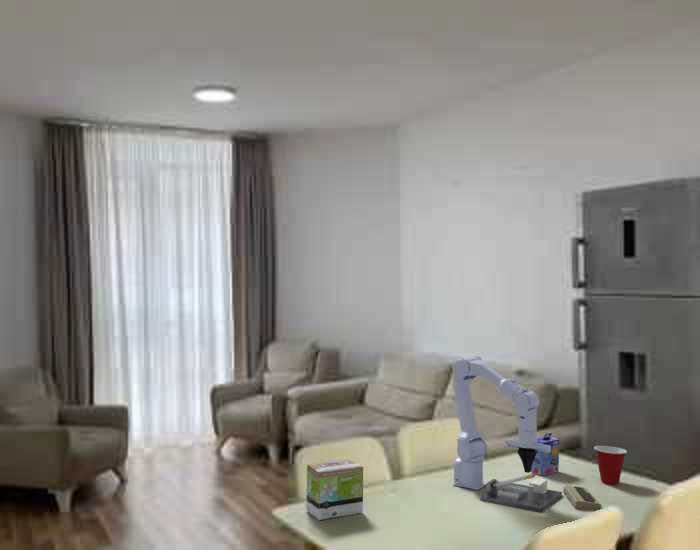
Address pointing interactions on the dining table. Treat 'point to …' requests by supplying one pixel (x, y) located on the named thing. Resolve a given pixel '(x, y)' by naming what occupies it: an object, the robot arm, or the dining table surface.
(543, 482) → the block
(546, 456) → the ink cartridge box
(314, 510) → the tea box
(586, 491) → the computer
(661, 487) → the dining table surface
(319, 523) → the dining table surface
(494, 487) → the grey flat bar
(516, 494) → the base
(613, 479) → the plastic cup
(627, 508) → the dining table surface
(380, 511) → the dining table surface
